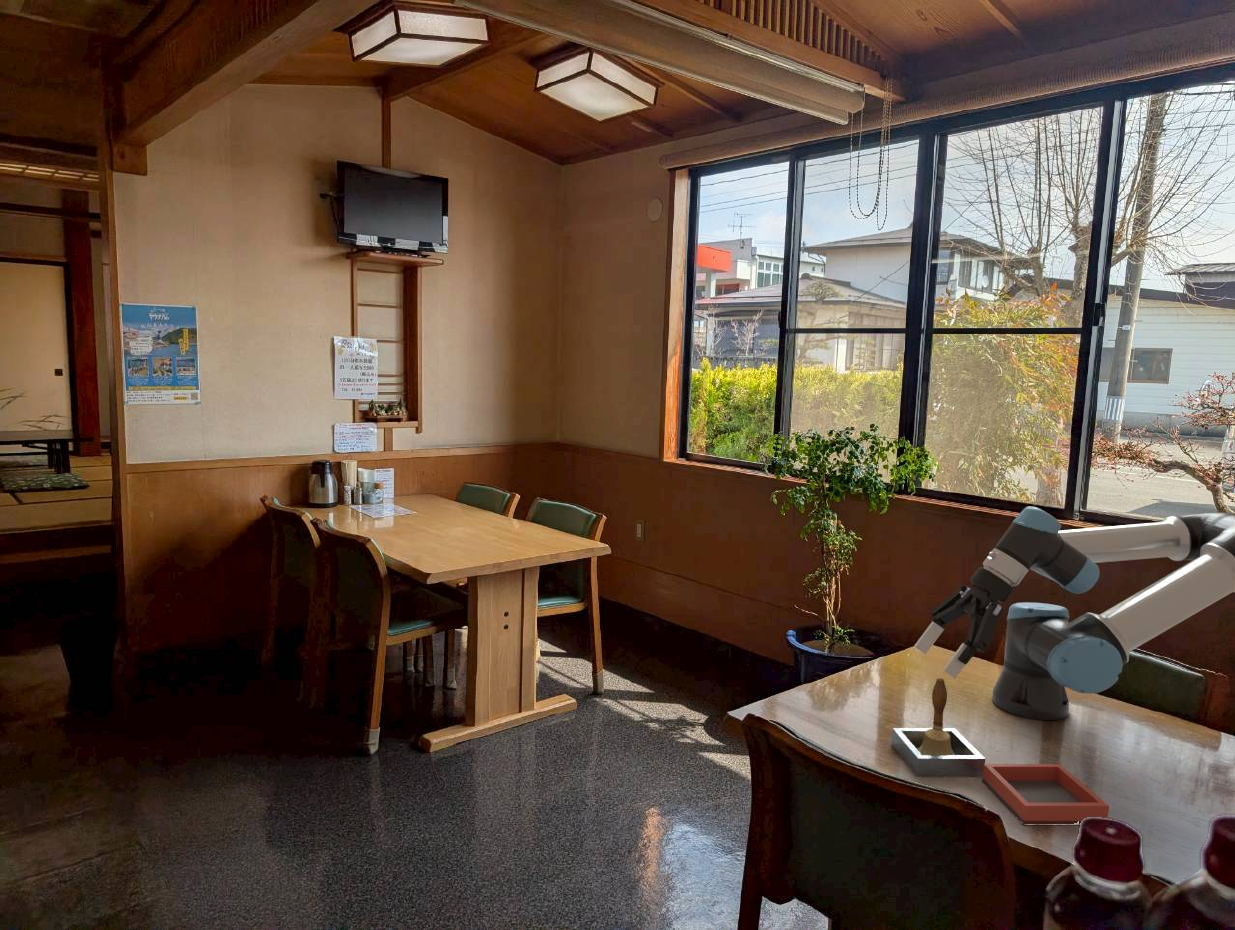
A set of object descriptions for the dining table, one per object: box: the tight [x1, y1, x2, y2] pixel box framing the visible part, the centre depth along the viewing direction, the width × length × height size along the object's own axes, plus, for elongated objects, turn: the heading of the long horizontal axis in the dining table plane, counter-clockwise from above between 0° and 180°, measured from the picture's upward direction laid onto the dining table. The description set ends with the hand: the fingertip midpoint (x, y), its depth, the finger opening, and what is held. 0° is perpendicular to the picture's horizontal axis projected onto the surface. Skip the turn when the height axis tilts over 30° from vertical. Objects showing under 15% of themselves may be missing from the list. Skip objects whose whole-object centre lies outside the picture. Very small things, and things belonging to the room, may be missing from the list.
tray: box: [981, 763, 1110, 825], centre depth 141 cm, size 14×14×3 cm
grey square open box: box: [891, 727, 986, 778], centre depth 156 cm, size 12×12×4 cm
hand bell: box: [916, 677, 955, 755], centre depth 155 cm, size 8×8×16 cm
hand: (933, 661), depth 165 cm, fingers open, 13 cm apart
